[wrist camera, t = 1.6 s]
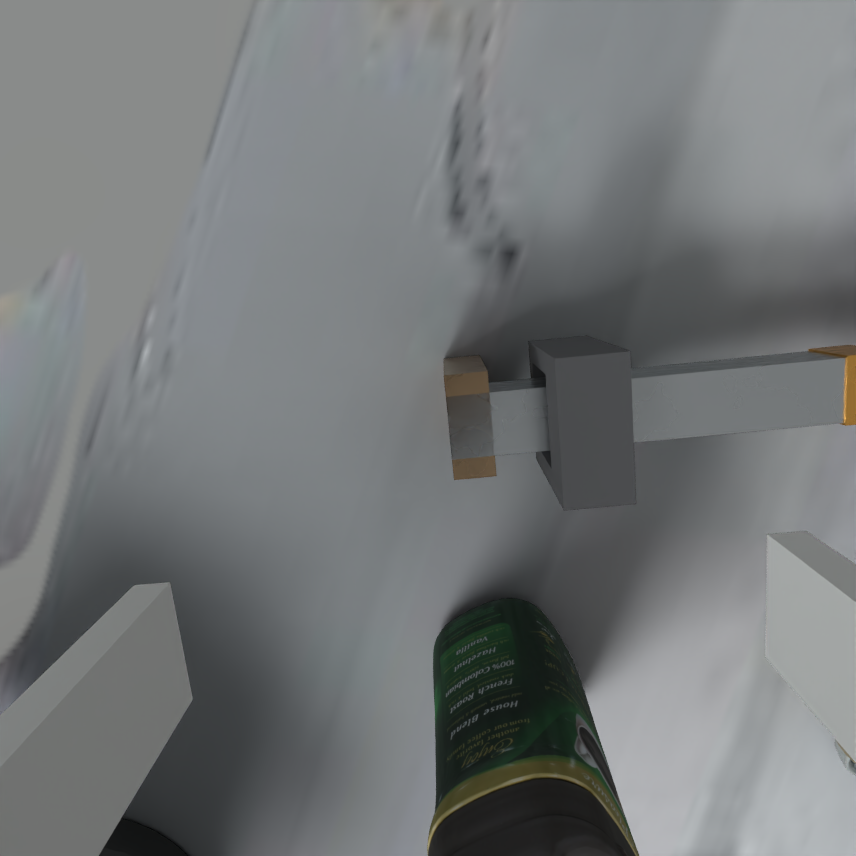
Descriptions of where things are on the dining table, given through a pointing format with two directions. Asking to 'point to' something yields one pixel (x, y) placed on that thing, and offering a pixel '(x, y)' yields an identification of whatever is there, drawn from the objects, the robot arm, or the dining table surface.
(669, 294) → the dining table surface
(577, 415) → the grey notched bracket
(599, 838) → the coffee jar
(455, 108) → the dining table surface
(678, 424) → the grey long bar
